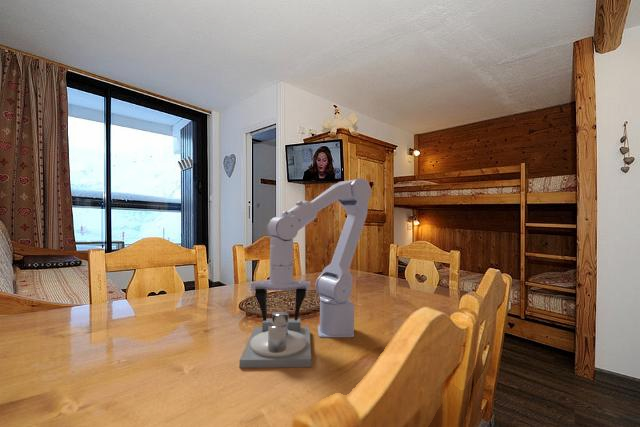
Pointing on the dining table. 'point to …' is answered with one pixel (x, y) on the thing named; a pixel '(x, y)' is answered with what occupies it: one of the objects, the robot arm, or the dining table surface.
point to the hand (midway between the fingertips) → (280, 319)
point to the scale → (291, 357)
